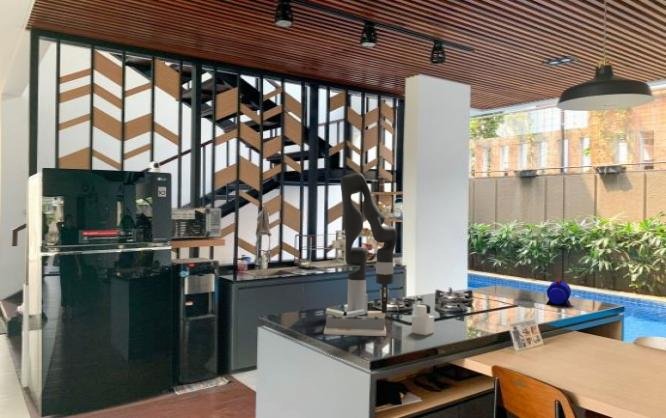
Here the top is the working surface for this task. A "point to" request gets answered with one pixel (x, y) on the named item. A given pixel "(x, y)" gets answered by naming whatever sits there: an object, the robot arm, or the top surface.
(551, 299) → the alarm clock
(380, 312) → the beige flat panel
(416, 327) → the medicine bottle
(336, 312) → the plate
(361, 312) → the pale grey-blue box
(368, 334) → the switch panel
